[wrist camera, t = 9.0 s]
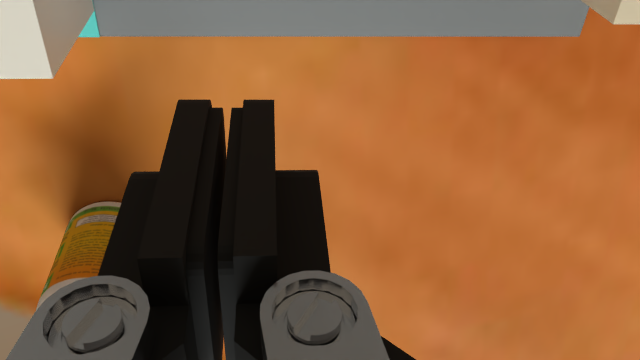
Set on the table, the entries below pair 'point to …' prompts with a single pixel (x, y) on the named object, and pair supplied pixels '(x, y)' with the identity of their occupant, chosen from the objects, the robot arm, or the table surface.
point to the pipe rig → (351, 17)
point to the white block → (39, 35)
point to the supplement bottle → (82, 246)
